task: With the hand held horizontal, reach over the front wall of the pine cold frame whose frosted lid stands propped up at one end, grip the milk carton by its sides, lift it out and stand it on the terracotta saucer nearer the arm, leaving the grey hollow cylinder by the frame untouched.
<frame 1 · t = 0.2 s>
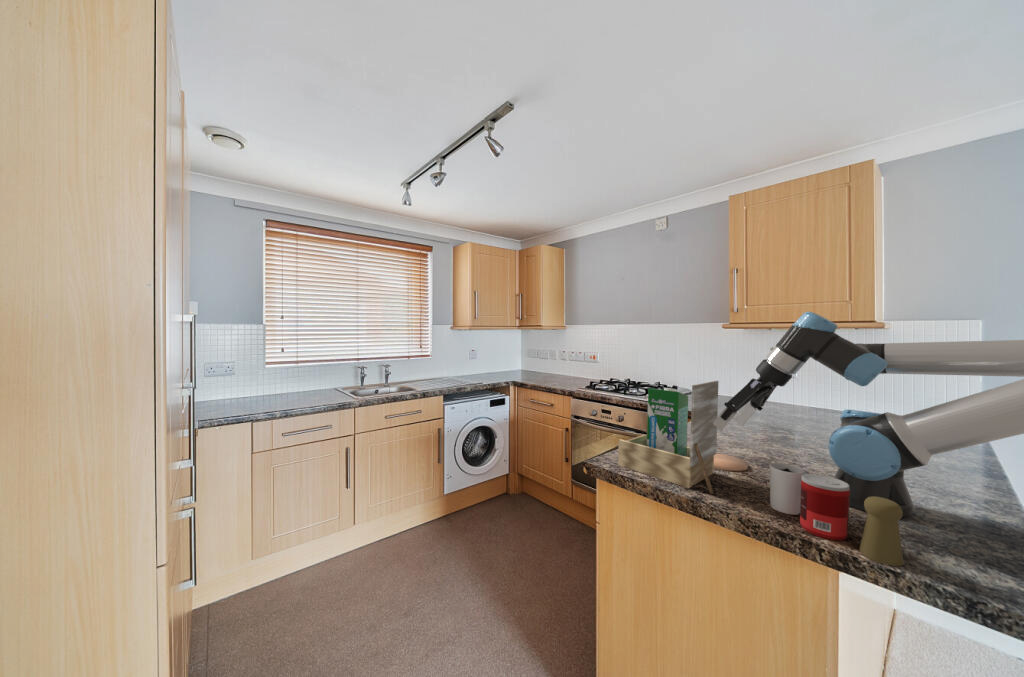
hand: (727, 424, 106), 16 cm above the counter, tool tilted 35°, fingers open, 13 cm apart
canned food: (822, 532, 79), on the counter
cold frame: (664, 468, 114), on the counter
milk carton: (666, 468, 114), resting in cold frame
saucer: (723, 463, 120), on the counter
cork: (880, 557, 71), on the counter
grey hollow cylinder: (784, 509, 89), on the counter
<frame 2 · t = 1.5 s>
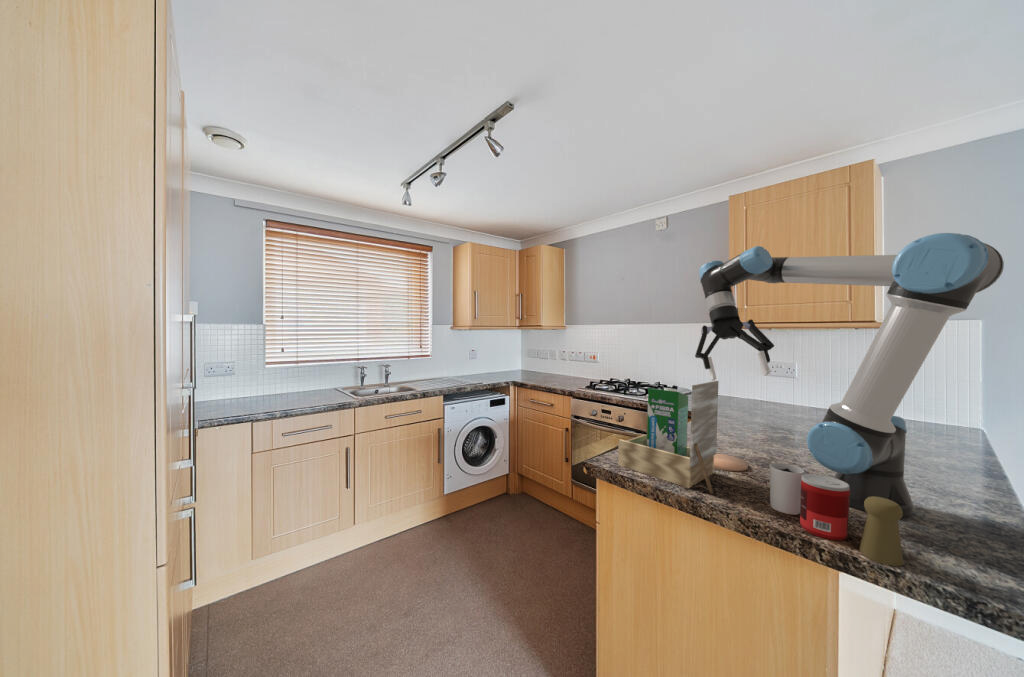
hand: (740, 377, 105), 30 cm above the counter, tool tilted 20°, fingers open, 13 cm apart
nothing on the counter moved.
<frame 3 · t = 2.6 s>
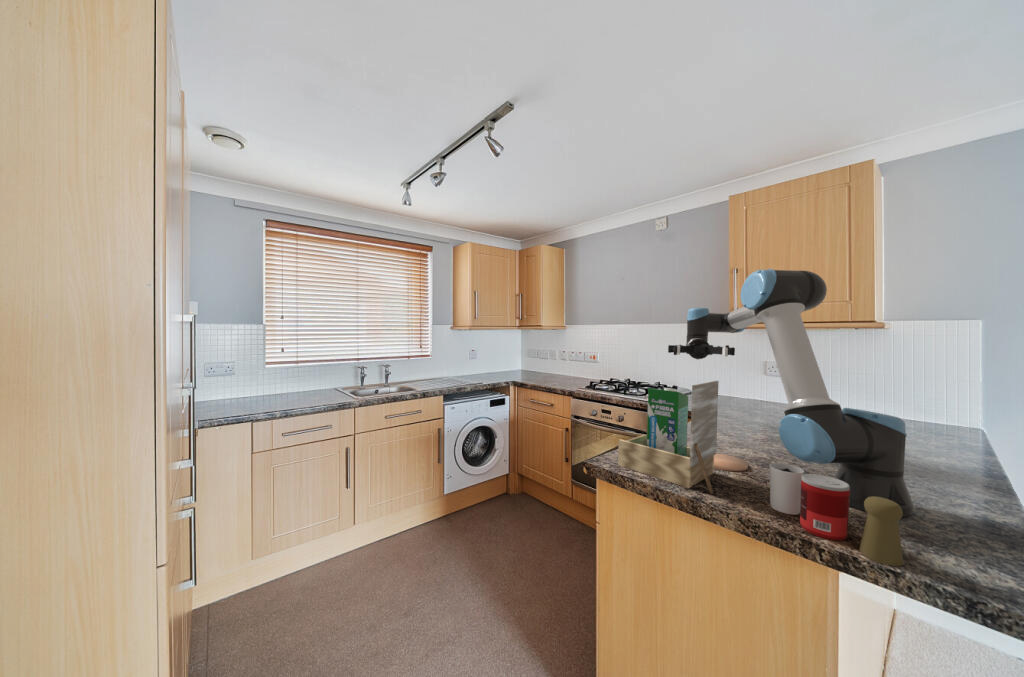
hand: (701, 351, 119), 36 cm above the counter, tool horizontal, fingers open, 13 cm apart
nothing on the counter moved.
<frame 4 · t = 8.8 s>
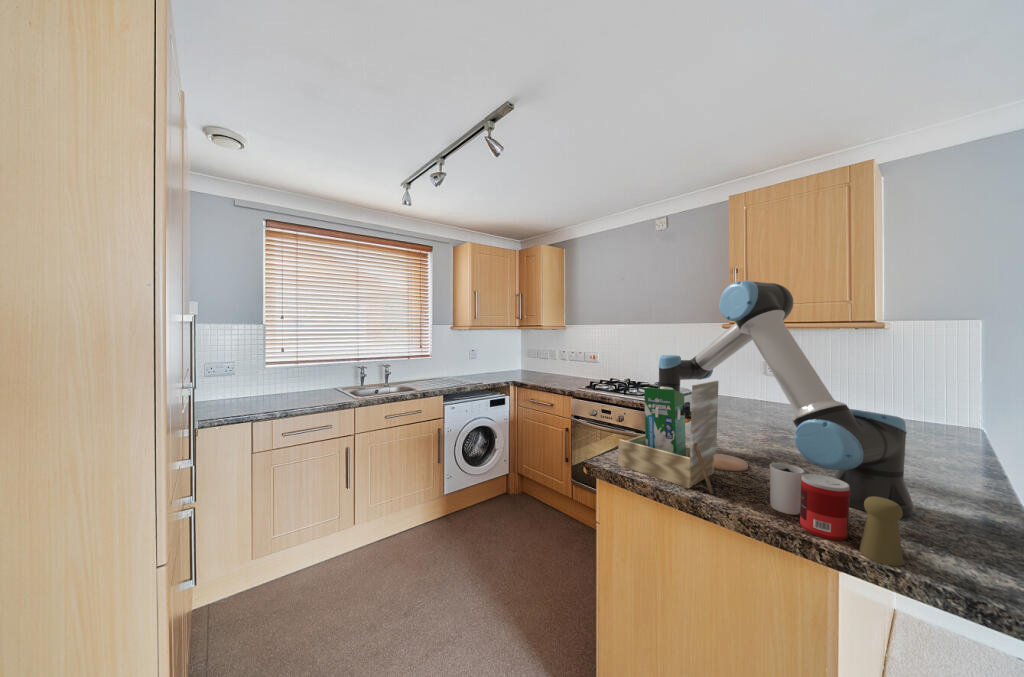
hand: (667, 413, 109), 18 cm above the counter, tool horizontal, fingers open, 5 cm apart
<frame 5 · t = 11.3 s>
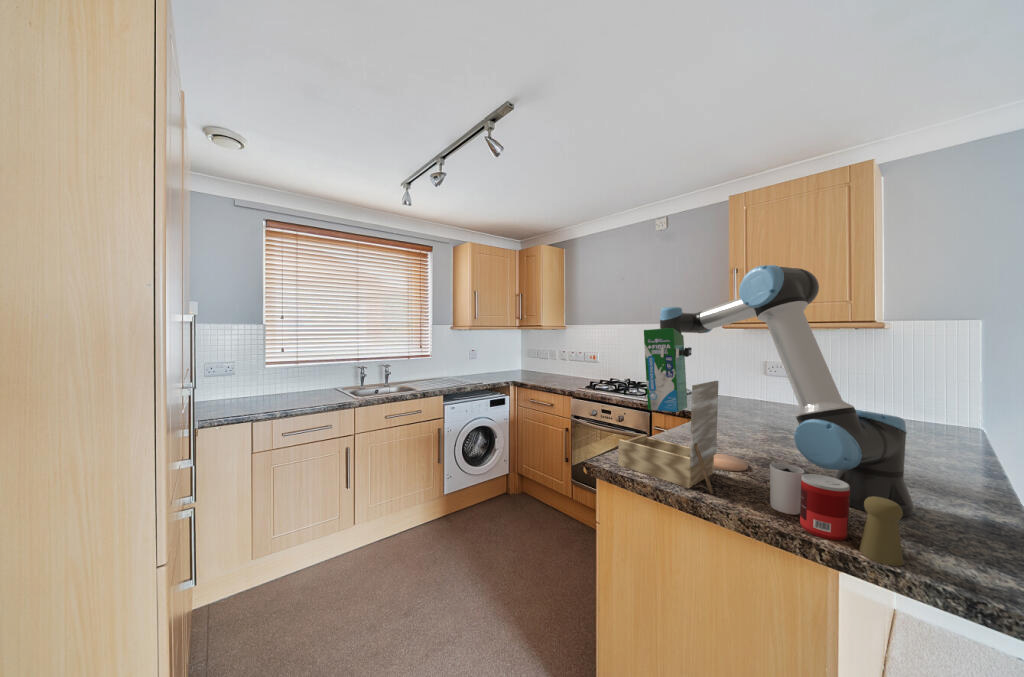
hand: (669, 353, 109), 36 cm above the counter, tool horizontal, fingers open, 3 cm apart
milk carton: (667, 409, 115), point 18 cm above the counter, touching hand
everything else where it was.
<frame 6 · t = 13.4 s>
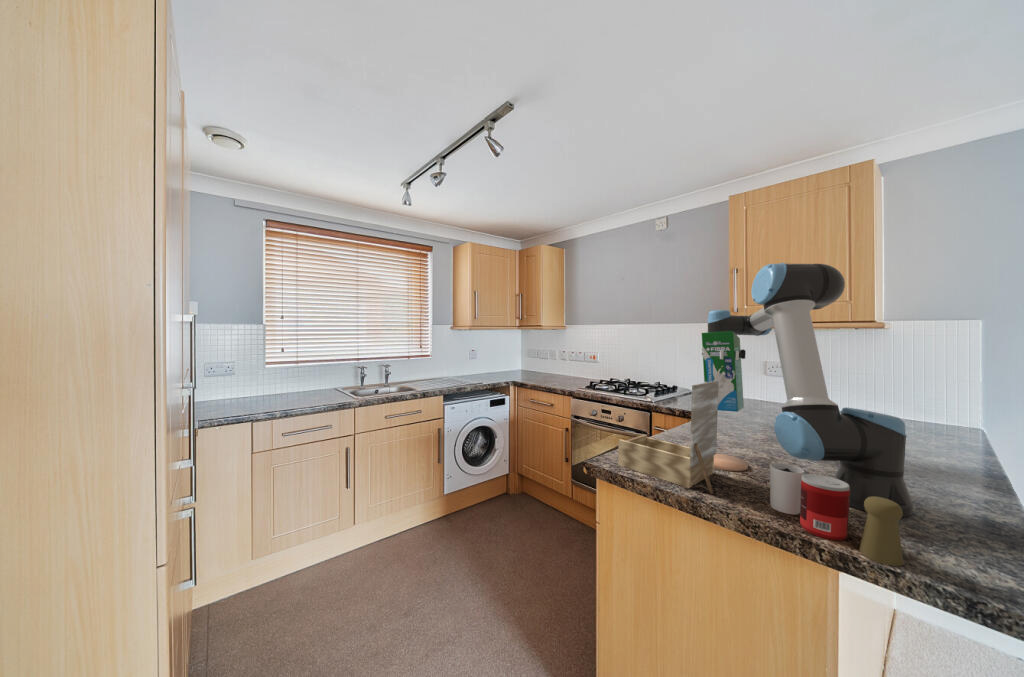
hand: (729, 355, 114), 36 cm above the counter, tool horizontal, fingers open, 3 cm apart
milk carton: (724, 409, 119), point 18 cm above the counter, touching hand
everything else where it was.
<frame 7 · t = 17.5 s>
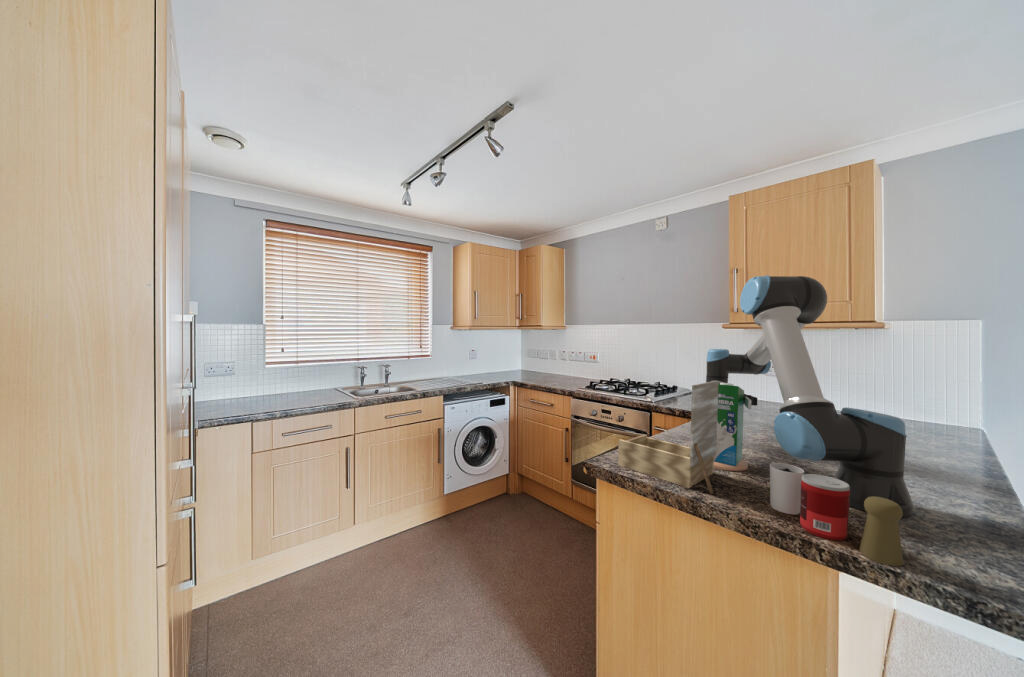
hand: (727, 402, 116), 20 cm above the counter, tool horizontal, fingers open, 11 cm apart
milk carton: (723, 460, 120), point 1 cm above the counter, touching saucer
everything else where it was.
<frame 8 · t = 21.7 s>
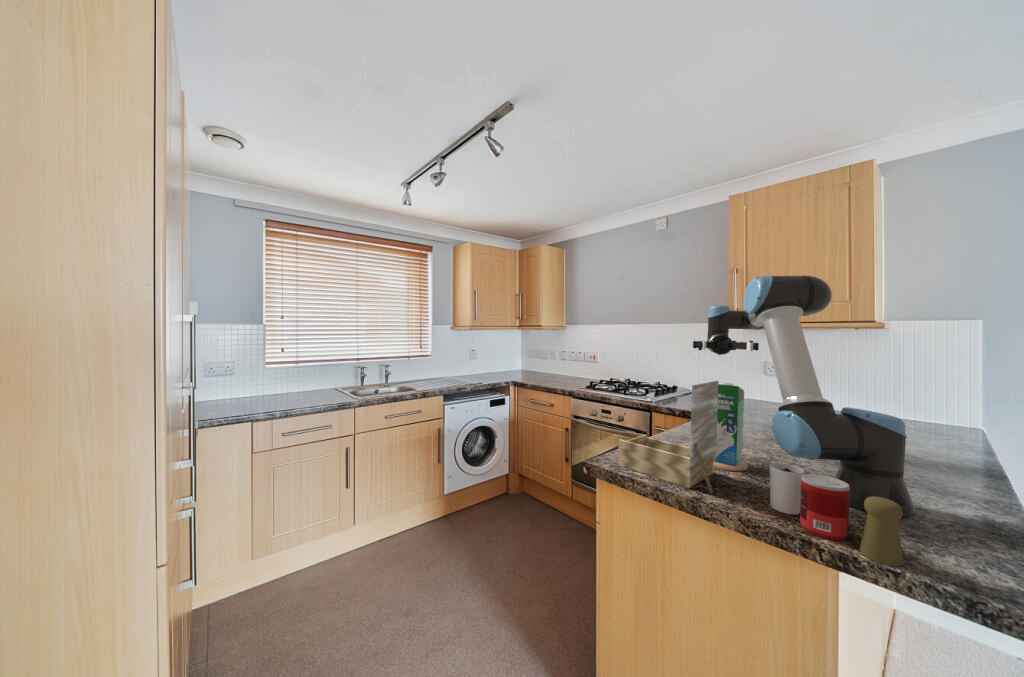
hand: (727, 346, 123), 38 cm above the counter, tool horizontal, fingers open, 13 cm apart
nothing on the counter moved.
at the end: milk carton 0.5 cm from the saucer (horizontally); milk carton tilted 0°; grey hollow cylinder moved 0.2 cm from its start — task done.
